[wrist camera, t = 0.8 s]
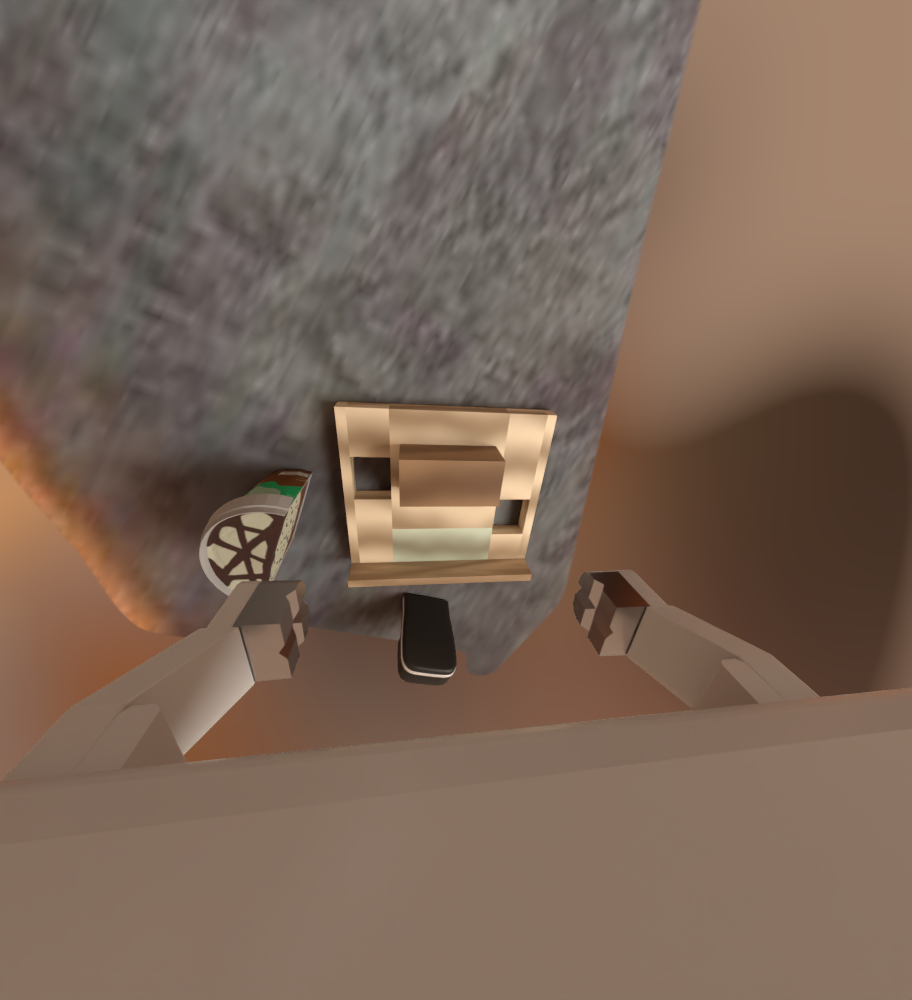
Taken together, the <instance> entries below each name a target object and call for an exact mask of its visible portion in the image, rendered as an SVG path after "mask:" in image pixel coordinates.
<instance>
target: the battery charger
mask: <svg viewBox="0 0 912 1000" xmlns="http://www.w3.org/2000/svg"><path fill="white" fill-rule="evenodd" d="M401 610H402V623H401V635H400V639H399V642H398V673H399V675H400V677H401V679H403V680H404V681H406V682H410V683H417V684H425V685H443V684H445V683H446V682H447V681H448V679H449V678H450V676H451V675H453V673H454V671H455V669H456V651H455V643H454V637H453V632H452V626H451V621H450V616H449V607H448V602H447V601H445V600H440V599H436V598H431V597H425V596H419V595H413V594H405V596H404V597H403V601H402V609H401Z"/></svg>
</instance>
